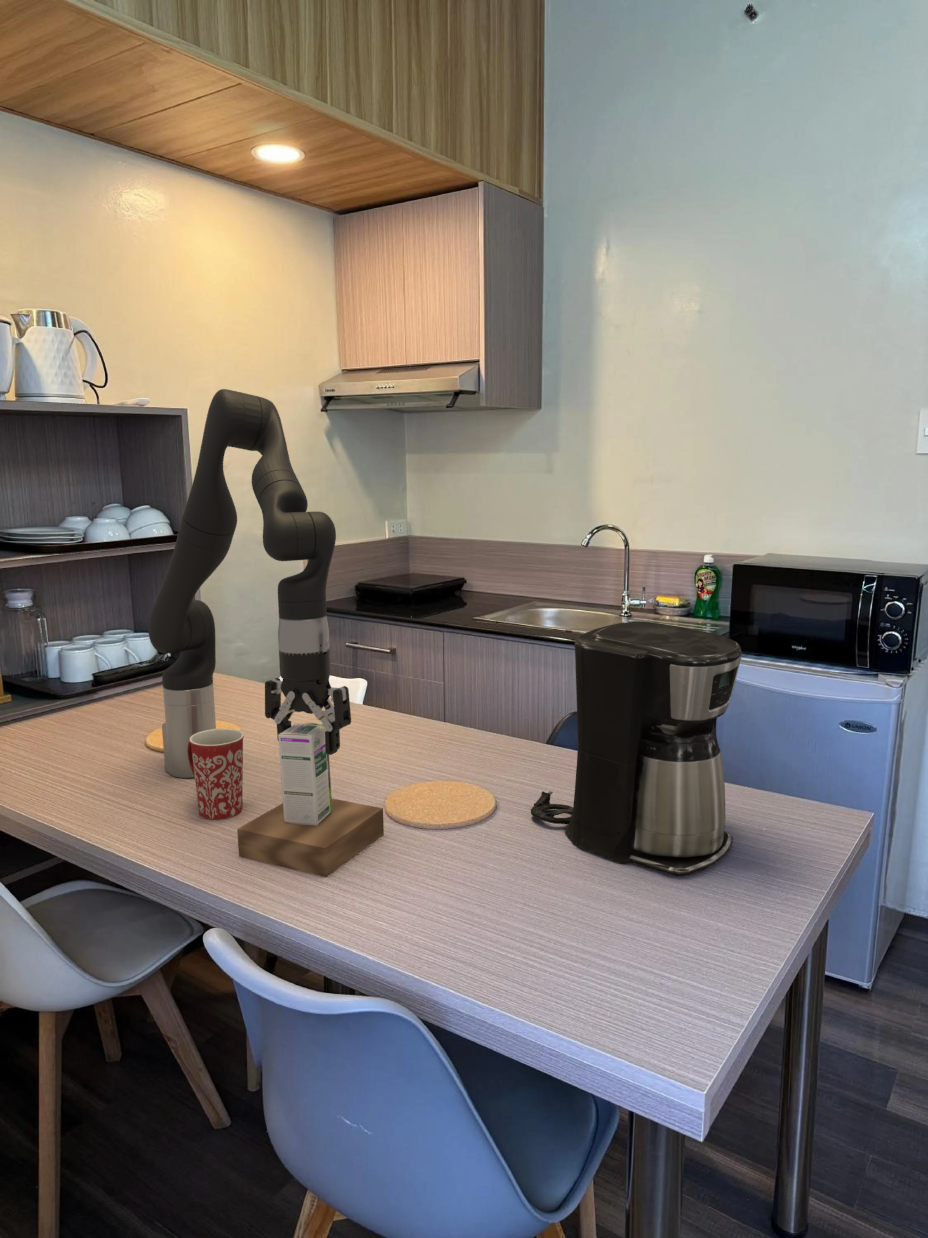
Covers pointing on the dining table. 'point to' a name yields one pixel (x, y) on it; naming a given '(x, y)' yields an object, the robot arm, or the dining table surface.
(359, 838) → the walnut riser
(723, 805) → the coffee maker
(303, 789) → the syrup box
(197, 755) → the mug
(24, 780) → the dining table surface
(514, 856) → the dining table surface
